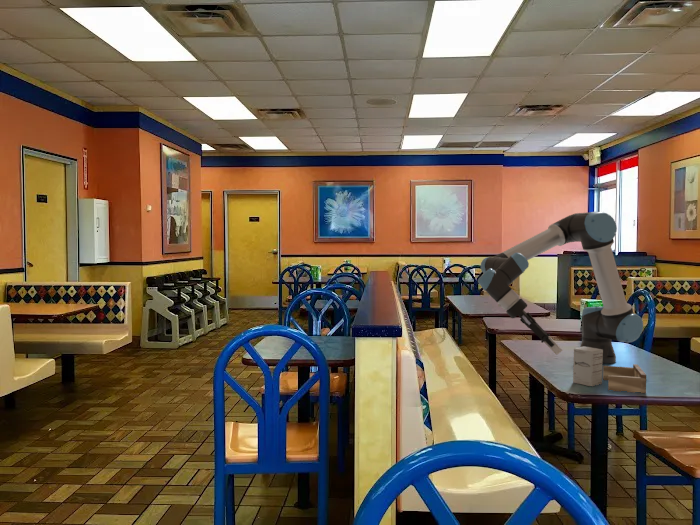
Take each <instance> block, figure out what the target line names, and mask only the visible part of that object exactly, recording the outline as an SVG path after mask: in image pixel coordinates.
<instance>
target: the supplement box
mask: <svg viewBox="0 0 700 525" xmlns="http://www.w3.org/2000/svg"><path fill="white" fill-rule="evenodd" d="M602 363H603V350H602V349H597V348H591V347H585V346H583V347H580V346H579V347H574V348H573V363H572V364H573V369H572V373H573V374H572V375H573V376H572V382H573V384H578V385H583V386H587V387H590V386H592V387H596V386H599V384H600V385H602V383H603V364H602ZM595 385H596V386H595Z"/></svg>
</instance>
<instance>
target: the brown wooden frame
mask: <svg viewBox="0 0 700 525" xmlns="http://www.w3.org/2000/svg"><path fill="white" fill-rule="evenodd" d="M602 381H607V384H608V385H607V390H608V391H609V390H613V391H612V392H621V391H627V392H626V393H635V392H641V393H640V394H647V373H646V372H645V371H644V370H643V369H642V368H641V366H639V364H634V363H633V365H632V366H631V367H629V366H615V365H614V366H613V365H602Z"/></svg>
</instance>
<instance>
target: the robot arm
mask: <svg viewBox="0 0 700 525" xmlns="http://www.w3.org/2000/svg"><path fill="white" fill-rule="evenodd" d="M617 230H618V228H617V223H616V221H615V219H614V217H613V216H612V215H610V214H609V213H607V212H604V211H603V212H602V211H590V212H589V211H588V212H577V213H573V214H570V215H567V216H566V217H563V218H561V219H559V220H558V221H556V222H554V223H551V224H550V225H549V226H548V228H547V229H545V230H544V231H541V232H539V233H537V234H536V235H533V236H532V237H530V238H528V239H526V240H524V241H522V242H520V243H518V244H516V245H514V246H512V247H510V248H508V249H506V250H504V251H502V252H501V253H498V254H496V255H494V256H488V257H485V258H483V259H482V260H481V262H480V270H481V272H482V273H483V274H481V276H479V277H478V279H477V283H478V284H479V285H480V287H481V288H482V289H483V290H484V292H486V294H488V295H489V296H490V297H491V298H492V299H493V301H494V302H496V303H497V304H498V305H497V307H498V308H501V309H503V311H506V314H507V315H508V316H509V317H510V318H511V319H515V318H516V317H517V316H518V317H519V318H520V319H519V321H520V322H521V323H522V324H524V325H525V326H526V327H527V328H528V329H530V330H531V331H532V333H534V334H535V336H537V337H538V338H539V339H540V340H541V341H540V342H541V343H544V344H545V345H546V346H547V348H549V349H550V350H551V351H552V352H553V353H554V354H555V355H556V356H557V355H559V354H560V353H561V352H562V351H563V349H562V347H560V346H559V345H558V343H556V341H554V339H553V338H552V337H551V334H550V333H548V332H547V331H545V330H544V329H543V328H542V326H541V325H539V323H538V322H537V321H536V319H535V318H534V317H533V316H532V315H531V312H526V311H525V309H526V308H527V307H528V304H527V302H525V300H524V299H522V298H520V295H519V294H518V293H517V292H516V291H515V290H514V289H513V288H512V287H510V285H511V284H512V283H513V282H514V281H516V279H517V278H519V277H520V276H521V275H522V274H524V273H525V271H526V270H527V269H528V268H529V260H531V259H533V258H535V257H537V256H538V255H540V254H543V253H545V252H547V251H549V250H551V249H553V248H554V247H557V246H559V247H562V246H563V245H566V244H569V243H574V242H575V243H577V242H578V243H580V244H581V247H582V250H583V251H585V252H587V253H588V256H589V257H588V258H589V260H590V263H591V268H592V270H593V275H594V278H595V281H596V285H597V288H598V292H599V295H600V299H601V302H602V306H588V307H587V306H586V307H584V308H583V309H582V313H581V314H582V315H581V343H580V346H579V347H583V346H585V347H591V348H597V349H602V350H603V363H602V365H605V364H614V363H616V362H617V361H616V360H617V356H616V355H617V354H616V353H615V350H614V346H613V342H612V340H614V341H618V342H620V343H633V342H635V341H637V340H638V339H639V338H640V336H641V333H643V331H644V330H643V328H644V321H643V319H642V317H641V316H639V314H636V313H634V309H633V306H632V304H630V303H628V302H627V300H626V295H625V293H624V289H623V285H622V281H621V278H620V275H619V274H620V273H619V270H618V267H617V264H616V258H615V256H614V252H613V249H612V246H613V244H614V242H615V240H614V238H615V236H616V235H617V234H616V233H617Z"/></svg>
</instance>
